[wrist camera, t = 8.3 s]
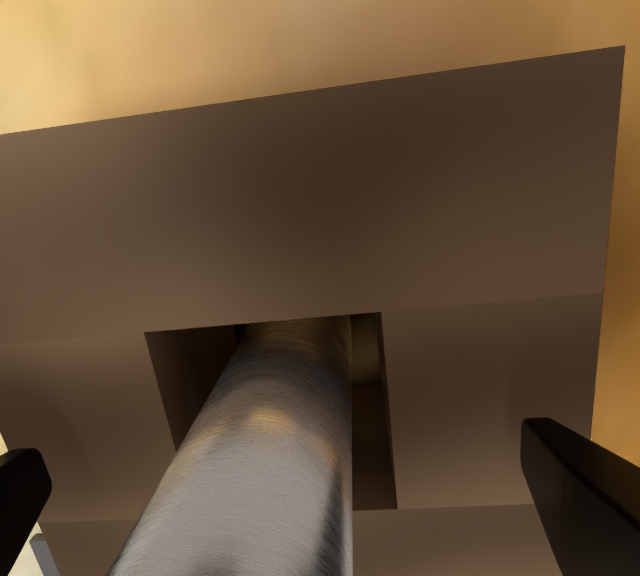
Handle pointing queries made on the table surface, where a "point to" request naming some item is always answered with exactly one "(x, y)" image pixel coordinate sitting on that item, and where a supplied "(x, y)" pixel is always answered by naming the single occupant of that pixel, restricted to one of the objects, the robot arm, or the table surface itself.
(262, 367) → the pin
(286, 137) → the hole block
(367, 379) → the table surface
